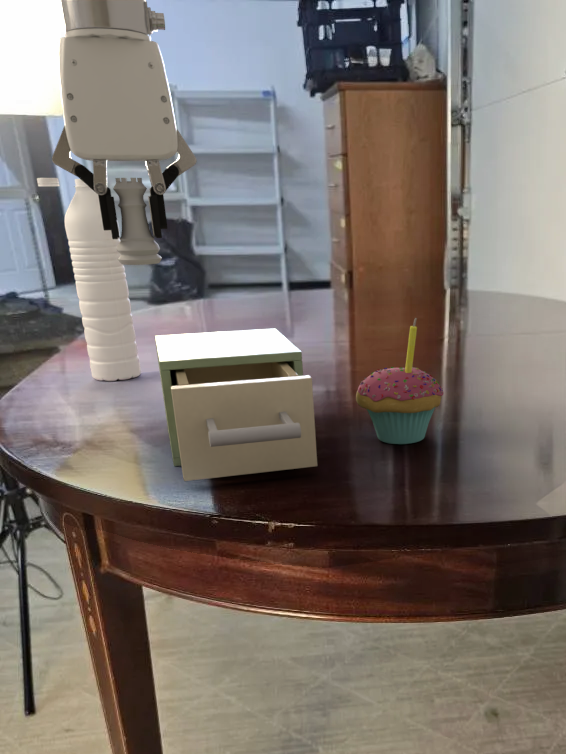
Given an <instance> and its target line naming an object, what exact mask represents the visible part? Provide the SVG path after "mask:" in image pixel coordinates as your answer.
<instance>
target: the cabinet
mask: <svg viewBox="0 0 566 754" xmlns="http://www.w3.org/2000/svg"><path fill="white" fill-rule="evenodd" d="M154 342H155V349H156V356H157V362H158V370H159V376H160V377H159V378H160V384H161V390H162V391H161V392H162V397H163V398H162V399H163V406H164V412H165V419H166V426H167V433H168V438H169V444H170V445H169V446H170V449H171V457H172V464H173V467H180V466H181V467H182V465H181V458H180V451H179V443H178V436H177V429H176V422H175V414H174V407H173V400H172V393H171V386H176V381H175V373H174V370H177V369H190V368H204V367H217V366H231V365H244V364H258V363H271V362H286V363H287V364H288V365H289V366H290V367H291V368H292V369H293V370H294V371H295V372H296V374H297V375H298V376H304V367H303V366H304V365H303V352H302V351H301V350H300V349H299V348H298V347H297V346H295V344H293V342H291V341H290V340H289V339H288V338H287V337H286V336H285V335H284V334H282V333H281V332H280V331H279V330H278V329H277V328H276V327H275V328H273V327H272V328H257V329H244V330H243V329H241V330H227V331H226V330H225V331H211V332H210V331H209V332H195V333H194V332H193V333H177V334H161V335H154Z"/></svg>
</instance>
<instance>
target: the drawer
mask: <svg viewBox="0 0 566 754" xmlns="http://www.w3.org/2000/svg"><path fill="white" fill-rule="evenodd" d="M174 373H175V381H176V386H171V393H172V400H173V407H174V414H175V422H176V429H177V436H178V443H179V451H180V458H181V465H182V466H181V472H182V477H183V482H189V481H198V480H207V479H218V478H226V477H235V476H244V475H252V474H260V473H261V474H262V473H269V472H279V471H286V470H294V469H295V470H296V469H305V468H313V467H314V468H315V467H318V456H317V455H318V454H317V453H318V452H317V439H316V423H315V422H316V421H315V405H314V391H313V389H314V387H313V377H311V375H310V374H307V375H304V374H303V376H298V375H297V374H296V372H295V371H294V370H293V369H292V368H291V367H290V366H289V365H288V364H287V363H286V362H271V363H258V364H244V365H231V366H217V367H204V368H190V369H177V370H174Z"/></svg>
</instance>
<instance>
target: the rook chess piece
mask: <svg viewBox="0 0 566 754" xmlns="http://www.w3.org/2000/svg"><path fill="white" fill-rule="evenodd" d="M114 179H115V184H114V186H113V187H112V190H113V191H114V192H115V194H116V195H117V196H118V200H119V202H118V204H117V207H118V208H119V209H120V216H121V232H120V238H119V239H120V243H119V244H118V245H117V251H118V252H119V253H120V254H121V256H120V257H119V258H118V259H117V260H118V261H119V262H120V263H121V264H123V265H124V266H143V265H144V266H147V265H157V264H160V263H161V261H162V259H163V257H162V256H161V255H159V252H160V250H161V247H160V246H159V244H158V243H157V242H156V240H155V237H154V236H153V233H152V232H151V228H150V226H149V221H148V217H147V212H146V211H147V210H146V207H147V205H148V204H147V203H146V202H145V199H144V195H145V194H146V191H147V190H148V188H147V186H146V185H145V183H143V178H142V177H130V180H128V178H127V177H115V178H114Z"/></svg>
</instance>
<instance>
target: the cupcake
mask: <svg viewBox="0 0 566 754" xmlns="http://www.w3.org/2000/svg"><path fill="white" fill-rule="evenodd" d="M417 319H418V318H417V317H414V320H413V325H410V326H409V334H408V340H407V341H408V342H407V350H406V351H407V352H406V358H405V367H401V366H397V367H394V366H390V368H387V367H384V368H381V369H379V368H378V369H376V370H375V371H373V372H371V374H370V375H369V376H366V377H364V378H363V379H364V380H361V381H360V384H359V386H358V387H357V391H356V393H355V401H356V403H357V405H358V406H359V407H361V408H362V409H365V410H366V411H367V413H368V414H369V417H370V420H371V422H372V424H373V427H374V430H375V433H376V436H377V439H378V440H379V441H380V442H382V443H385V444H390V445H410V444H415V443H419V442H421V441H423V440H424V439H425V438H426V434H427V431H428V427H429V423H430V420H431V418H432V416H433V413H434V411H435V410H436V408H438V407H440V405H441V401H442V397H443V396H444V389H443V388H444V387H442V386H441V385H440V382H439V381H438V380H437V379H436V378H434V377H433V375H432V374H431V373H427V372H426V371H425V370H424V371H423V370H421V369H419V367H413V364H414V363H413V362H414V355H415V348H416V347H415V346H416V341H417V340H416V339H417V332H418V331H417V330H418V327H417V326H416V325H417Z"/></svg>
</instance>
